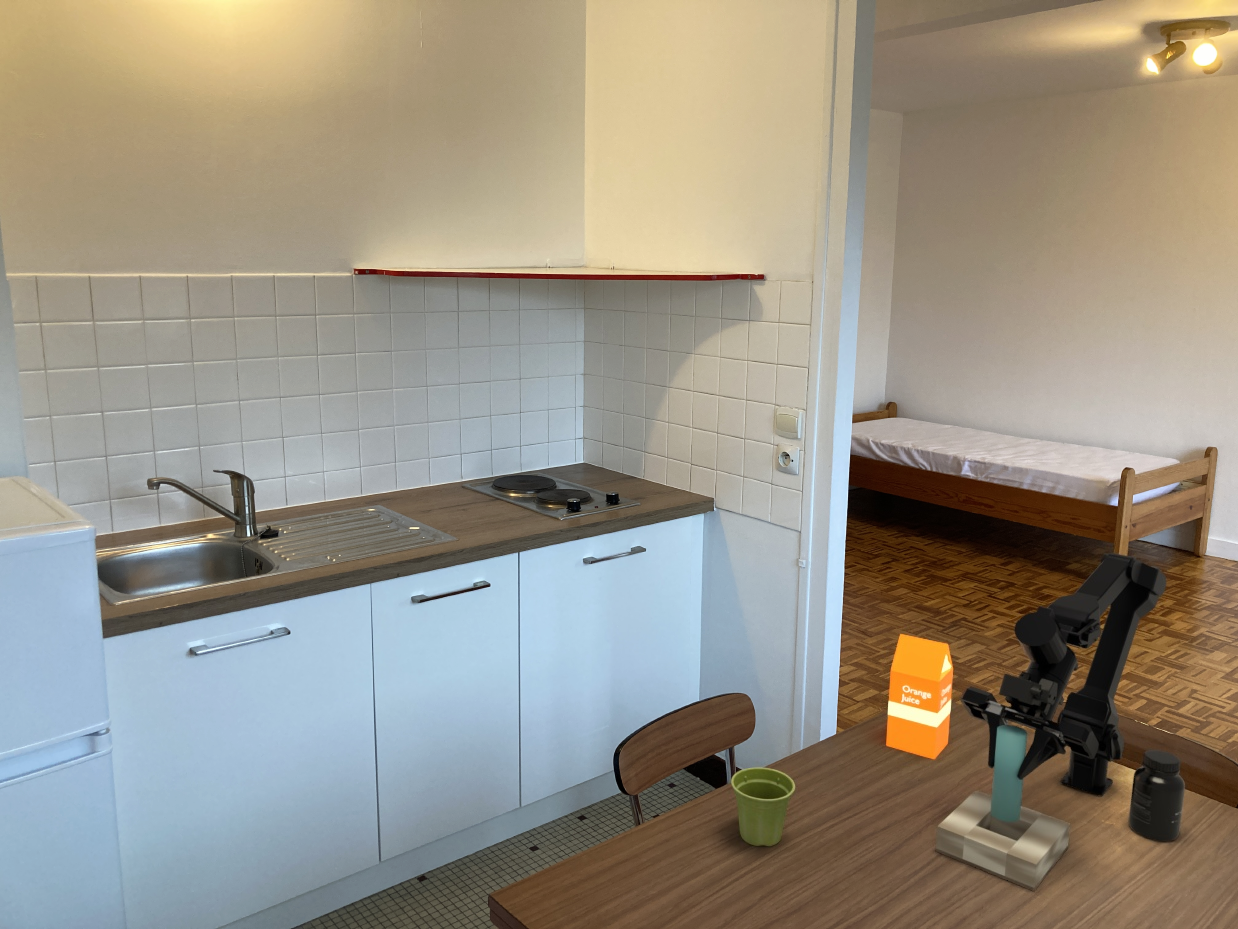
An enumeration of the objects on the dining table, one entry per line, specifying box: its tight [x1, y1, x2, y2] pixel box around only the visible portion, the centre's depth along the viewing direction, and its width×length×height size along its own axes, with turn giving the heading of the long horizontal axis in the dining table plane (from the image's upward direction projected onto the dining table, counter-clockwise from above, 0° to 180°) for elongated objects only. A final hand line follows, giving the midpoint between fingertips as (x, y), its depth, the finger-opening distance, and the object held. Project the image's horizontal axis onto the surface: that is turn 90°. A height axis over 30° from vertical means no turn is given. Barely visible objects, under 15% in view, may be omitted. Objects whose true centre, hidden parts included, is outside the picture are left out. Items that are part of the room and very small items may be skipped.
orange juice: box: [885, 633, 954, 760], centre depth 172 cm, size 8×9×20 cm
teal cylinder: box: [990, 724, 1028, 822], centre depth 139 cm, size 4×4×13 cm
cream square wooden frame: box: [935, 789, 1071, 892], centre depth 141 cm, size 14×14×4 cm
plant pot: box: [730, 766, 796, 847], centre depth 144 cm, size 9×9×9 cm
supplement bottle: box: [1128, 749, 1186, 842], centre depth 146 cm, size 7×7×12 cm
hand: (1004, 772), depth 139 cm, fingers closed on teal cylinder, 4 cm apart
